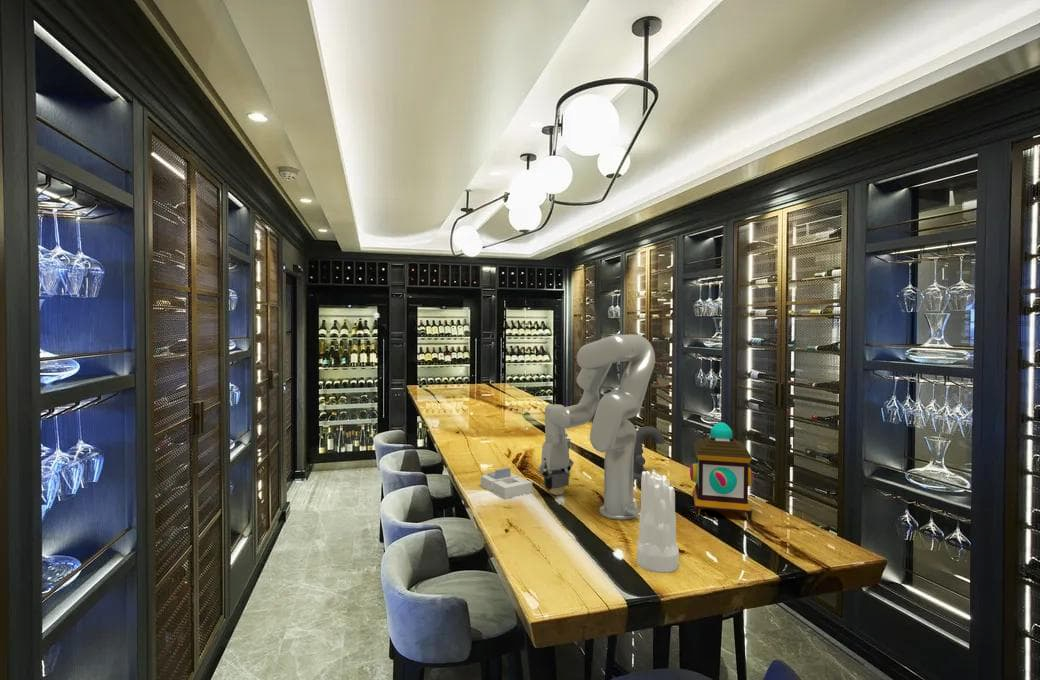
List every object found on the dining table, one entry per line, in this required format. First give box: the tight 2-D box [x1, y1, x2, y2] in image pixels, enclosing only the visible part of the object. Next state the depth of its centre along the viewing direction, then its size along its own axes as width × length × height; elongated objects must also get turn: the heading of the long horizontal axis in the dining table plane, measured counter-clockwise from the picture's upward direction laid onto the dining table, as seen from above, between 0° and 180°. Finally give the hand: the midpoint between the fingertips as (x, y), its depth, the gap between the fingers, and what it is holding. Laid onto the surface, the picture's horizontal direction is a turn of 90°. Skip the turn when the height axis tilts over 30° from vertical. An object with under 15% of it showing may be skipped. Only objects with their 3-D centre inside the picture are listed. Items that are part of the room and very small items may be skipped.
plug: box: [543, 470, 570, 496], centre depth 194 cm, size 6×6×8 cm
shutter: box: [486, 467, 511, 479], centre depth 205 cm, size 7×7×3 cm
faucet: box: [633, 425, 666, 480], centre depth 221 cm, size 18×16×20 cm
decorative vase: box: [636, 468, 680, 573], centre depth 139 cm, size 11×11×25 cm
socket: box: [480, 472, 533, 500], centre depth 201 cm, size 18×12×4 cm, turn 34°
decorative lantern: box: [689, 422, 754, 522], centre depth 178 cm, size 20×20×30 cm
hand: (556, 486), depth 194 cm, fingers closed on plug, 6 cm apart
